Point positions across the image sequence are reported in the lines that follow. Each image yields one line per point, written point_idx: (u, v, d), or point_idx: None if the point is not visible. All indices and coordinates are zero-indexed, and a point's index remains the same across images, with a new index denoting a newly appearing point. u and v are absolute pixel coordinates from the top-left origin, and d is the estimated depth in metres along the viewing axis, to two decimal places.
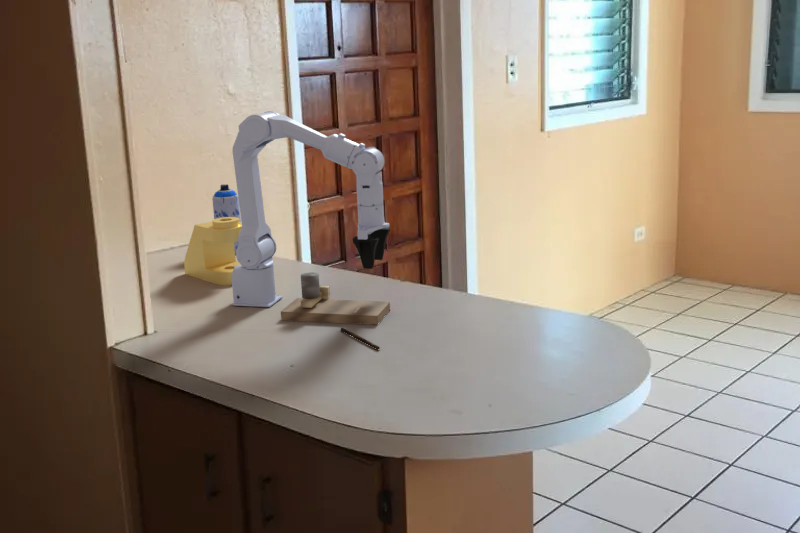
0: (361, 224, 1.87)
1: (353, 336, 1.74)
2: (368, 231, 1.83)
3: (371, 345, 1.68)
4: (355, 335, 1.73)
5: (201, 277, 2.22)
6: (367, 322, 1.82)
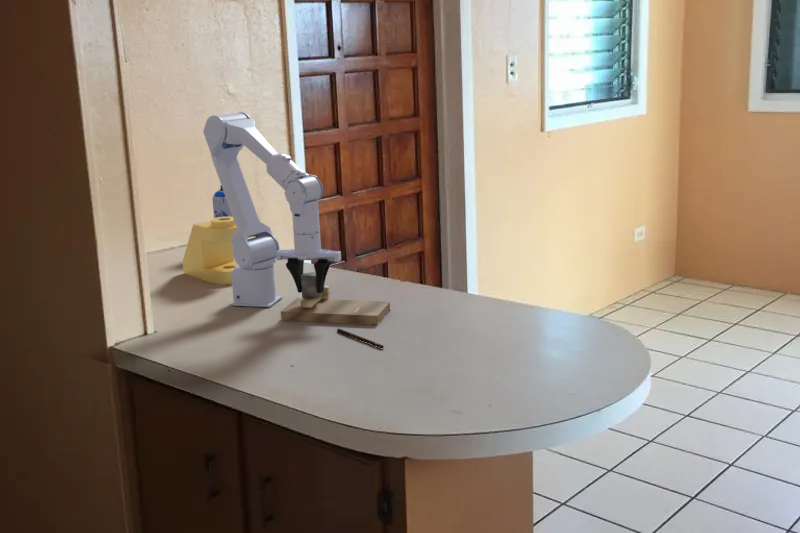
0: None
1: (352, 336, 1.74)
2: (280, 253, 1.88)
3: (374, 344, 1.68)
4: (355, 335, 1.73)
5: (200, 276, 2.23)
6: (367, 322, 1.82)
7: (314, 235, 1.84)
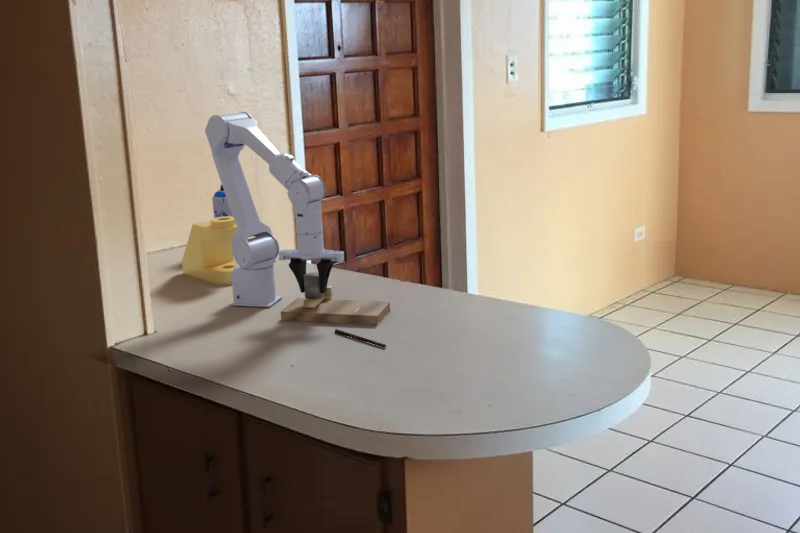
0: None
1: (352, 337, 1.74)
2: (283, 253, 1.88)
3: (376, 344, 1.69)
4: (354, 335, 1.73)
5: (199, 276, 2.23)
6: (367, 322, 1.82)
7: (317, 235, 1.84)
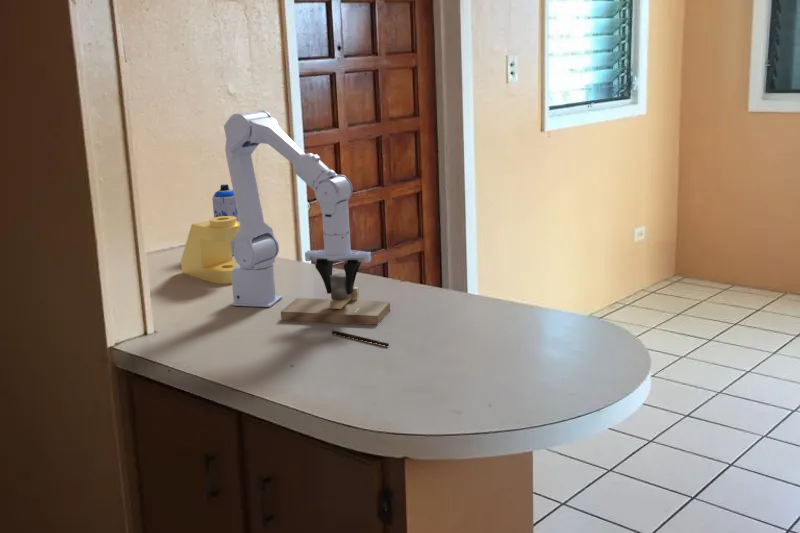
0: None
1: (351, 337, 1.73)
2: (309, 254, 1.86)
3: (378, 343, 1.69)
4: (354, 336, 1.73)
5: (198, 276, 2.23)
6: (367, 322, 1.82)
7: (344, 236, 1.83)
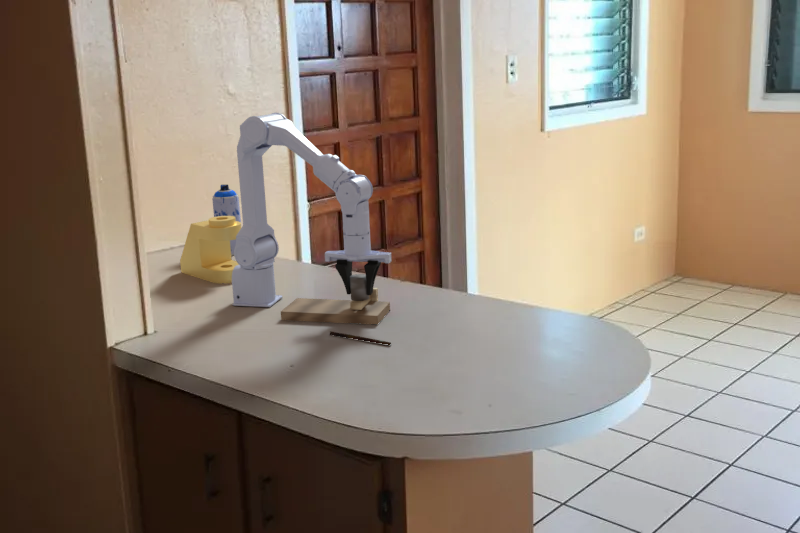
0: None
1: (350, 337, 1.73)
2: (329, 255, 1.85)
3: (379, 342, 1.70)
4: (354, 336, 1.73)
5: (197, 275, 2.24)
6: (367, 322, 1.82)
7: (365, 236, 1.81)
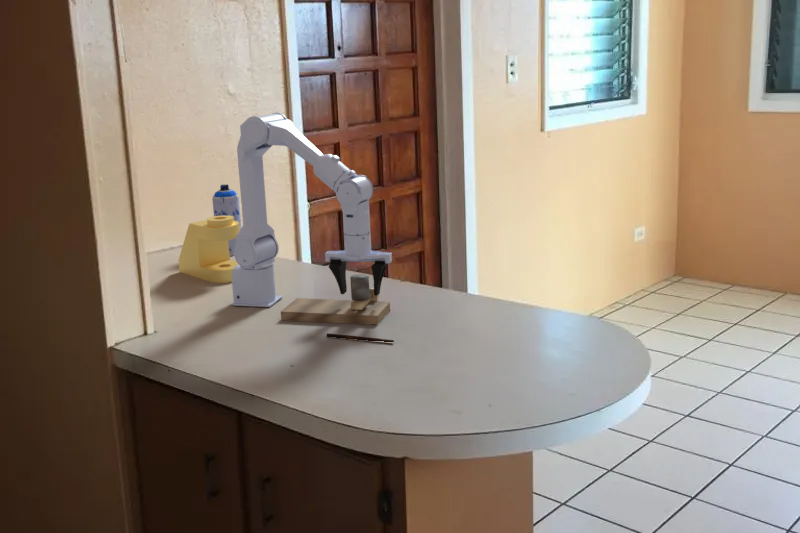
0: None
1: (350, 338, 1.73)
2: (330, 255, 1.85)
3: None
4: (353, 336, 1.73)
5: (196, 275, 2.24)
6: (367, 322, 1.82)
7: (365, 236, 1.81)
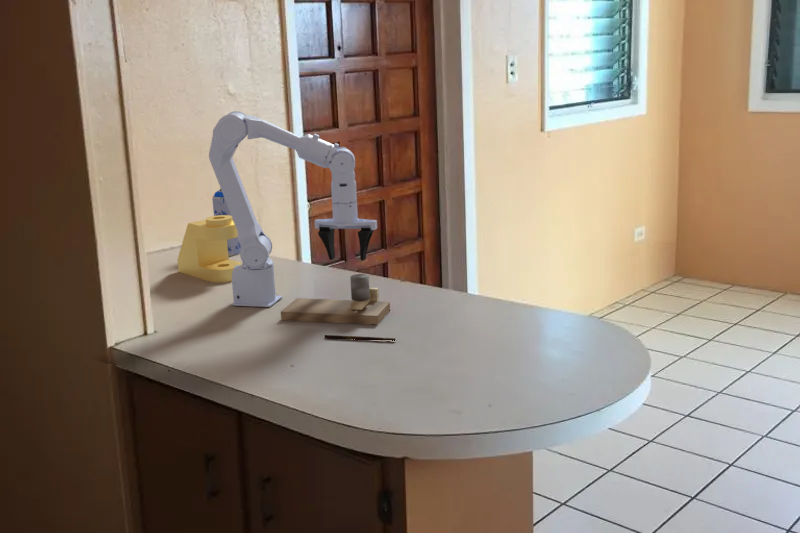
0: None
1: (349, 338, 1.73)
2: (319, 222, 1.97)
3: (383, 339, 1.71)
4: (353, 336, 1.72)
5: (195, 275, 2.25)
6: (367, 322, 1.82)
7: (352, 204, 1.93)
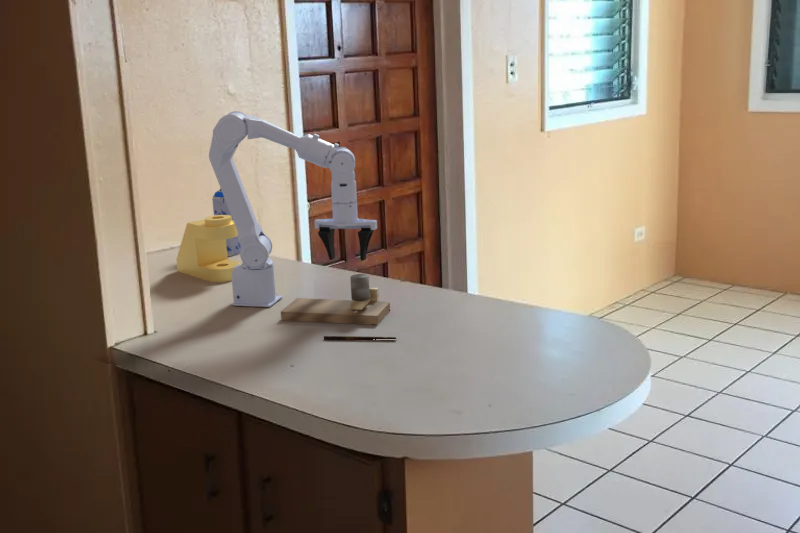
0: None
1: (349, 339, 1.72)
2: (319, 222, 1.97)
3: None
4: (353, 337, 1.72)
5: (194, 274, 2.25)
6: (367, 322, 1.82)
7: (352, 204, 1.93)
